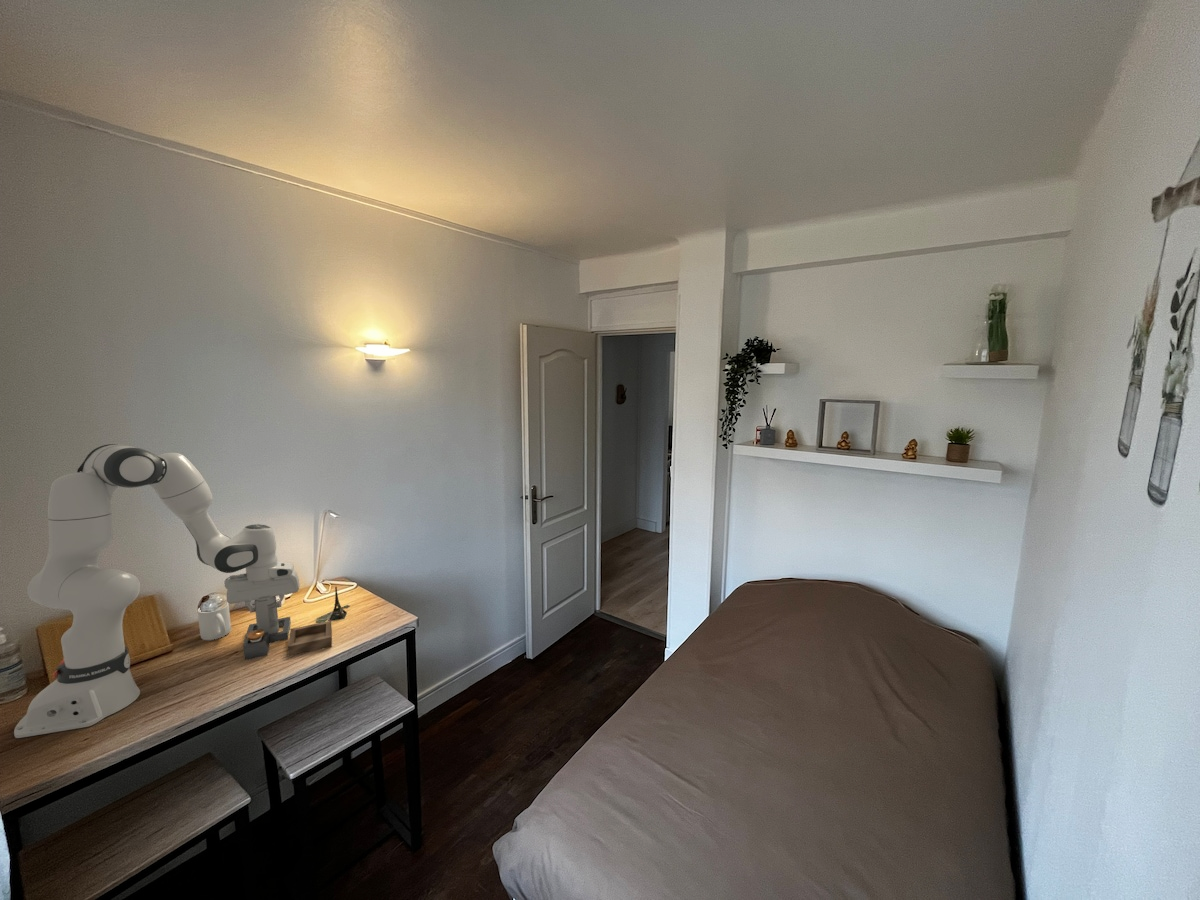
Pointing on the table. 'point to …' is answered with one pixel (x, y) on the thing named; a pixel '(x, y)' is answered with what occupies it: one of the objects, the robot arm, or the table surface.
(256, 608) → the energy drink can
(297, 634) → the brown wooden tray
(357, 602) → the table surface
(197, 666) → the table surface
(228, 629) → the mug
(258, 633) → the release plunger
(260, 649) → the socket block
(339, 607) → the eiffel tower figurine
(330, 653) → the table surface
